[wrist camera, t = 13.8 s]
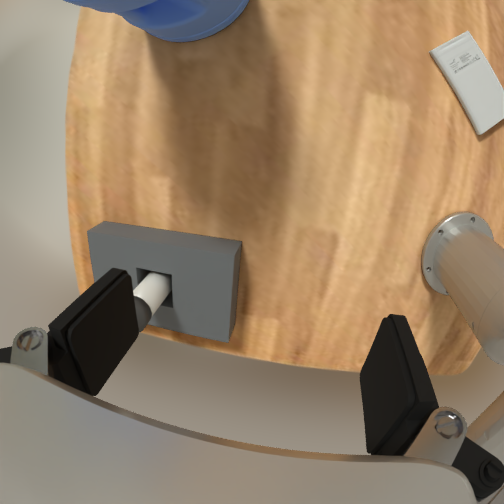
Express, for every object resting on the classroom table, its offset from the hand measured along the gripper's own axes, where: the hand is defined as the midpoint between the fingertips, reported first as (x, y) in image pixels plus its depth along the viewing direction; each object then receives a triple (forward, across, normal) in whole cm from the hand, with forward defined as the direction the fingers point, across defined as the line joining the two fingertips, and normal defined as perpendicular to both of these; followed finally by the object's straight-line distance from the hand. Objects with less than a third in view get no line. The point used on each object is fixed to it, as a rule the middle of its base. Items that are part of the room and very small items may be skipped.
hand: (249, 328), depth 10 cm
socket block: (+28, +16, +16) cm, 36 cm away
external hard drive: (+29, -23, -19) cm, 41 cm away
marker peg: (+28, +16, +16) cm, 36 cm away
